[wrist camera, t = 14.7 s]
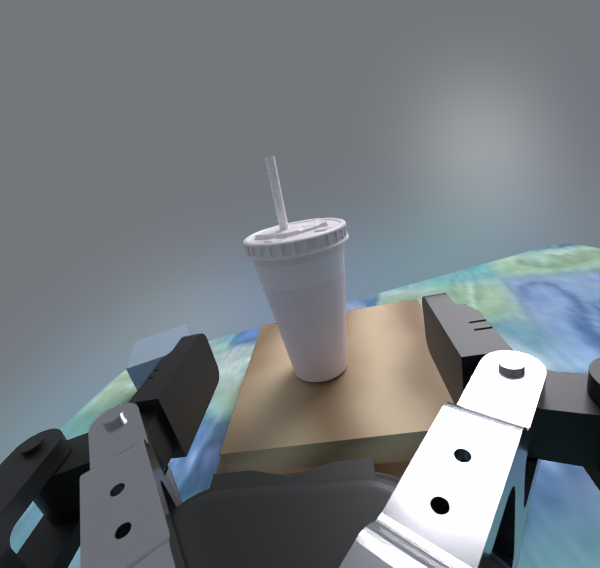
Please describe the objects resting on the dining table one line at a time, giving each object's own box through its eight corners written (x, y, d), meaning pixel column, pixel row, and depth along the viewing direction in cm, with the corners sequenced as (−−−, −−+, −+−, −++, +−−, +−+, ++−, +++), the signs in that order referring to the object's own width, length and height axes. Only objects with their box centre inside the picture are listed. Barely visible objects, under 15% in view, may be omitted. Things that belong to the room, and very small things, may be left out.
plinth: (428, 330, 32) (425, 292, 30) (518, 496, 17) (519, 437, 16) (264, 356, 34) (253, 321, 33) (219, 521, 20) (196, 472, 18)
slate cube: (204, 365, 35) (187, 323, 34) (206, 394, 31) (186, 347, 29) (155, 382, 34) (135, 341, 33) (149, 415, 30) (126, 368, 28)
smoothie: (275, 352, 27) (229, 166, 22) (355, 335, 27) (326, 147, 22) (276, 405, 21) (214, 165, 16) (379, 383, 21) (346, 138, 16)
